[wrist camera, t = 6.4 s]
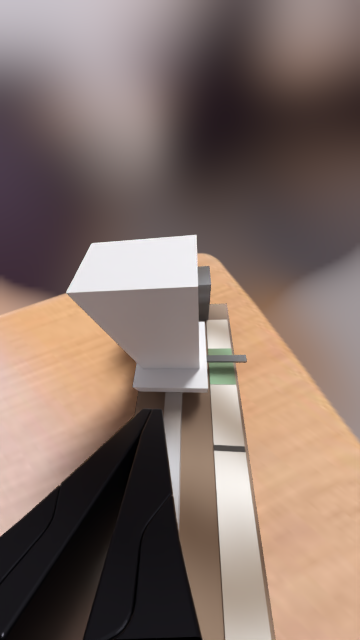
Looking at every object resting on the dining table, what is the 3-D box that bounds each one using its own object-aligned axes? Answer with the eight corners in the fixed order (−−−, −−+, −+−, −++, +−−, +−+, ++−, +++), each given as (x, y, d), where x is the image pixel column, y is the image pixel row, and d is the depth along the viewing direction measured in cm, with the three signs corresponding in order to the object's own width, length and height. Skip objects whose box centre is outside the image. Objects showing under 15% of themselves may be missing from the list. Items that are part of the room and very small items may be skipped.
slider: (251, 393, 12) (366, 321, 4) (140, 391, 13) (30, 329, 4) (240, 331, 14) (292, 207, 6) (149, 333, 15) (90, 226, 7)
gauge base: (271, 656, 8) (424, 1156, 3) (111, 628, 9) (-34, 957, 3) (225, 311, 19) (235, 264, 13) (154, 314, 19) (136, 270, 14)
